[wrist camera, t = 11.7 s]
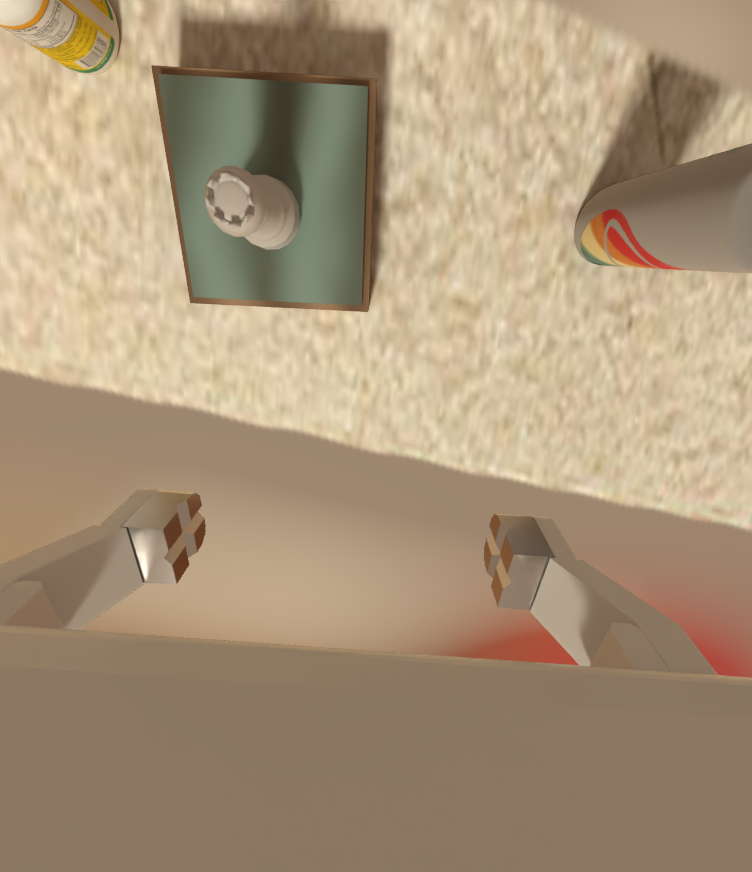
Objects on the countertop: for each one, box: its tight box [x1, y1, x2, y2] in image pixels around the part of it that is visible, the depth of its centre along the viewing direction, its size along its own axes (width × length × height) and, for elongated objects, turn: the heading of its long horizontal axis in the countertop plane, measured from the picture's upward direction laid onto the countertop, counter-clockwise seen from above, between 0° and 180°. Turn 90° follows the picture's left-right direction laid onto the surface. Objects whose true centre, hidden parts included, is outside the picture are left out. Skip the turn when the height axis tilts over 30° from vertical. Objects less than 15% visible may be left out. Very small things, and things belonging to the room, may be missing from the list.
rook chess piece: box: [204, 166, 300, 250], centre depth 23 cm, size 4×4×8 cm
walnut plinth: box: [152, 66, 377, 312], centre depth 28 cm, size 14×14×4 cm
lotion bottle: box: [574, 144, 752, 273], centre depth 21 cm, size 6×6×20 cm
